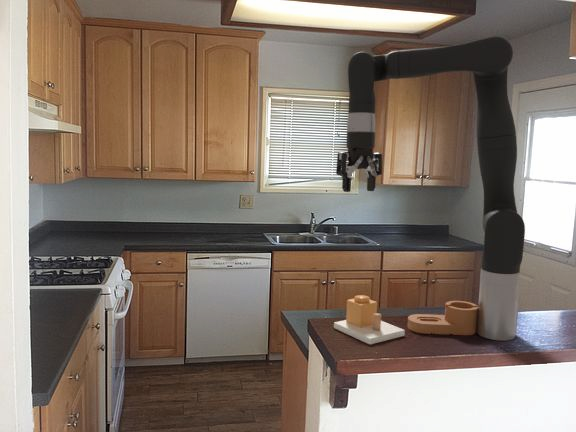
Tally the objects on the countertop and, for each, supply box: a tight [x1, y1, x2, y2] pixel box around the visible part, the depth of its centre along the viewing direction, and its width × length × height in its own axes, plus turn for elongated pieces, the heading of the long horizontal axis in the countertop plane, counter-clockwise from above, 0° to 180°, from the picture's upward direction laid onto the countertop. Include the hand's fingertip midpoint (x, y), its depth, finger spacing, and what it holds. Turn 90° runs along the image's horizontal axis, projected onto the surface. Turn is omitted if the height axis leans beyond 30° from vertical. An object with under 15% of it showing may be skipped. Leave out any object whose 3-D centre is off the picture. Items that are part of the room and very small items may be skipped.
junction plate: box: [333, 312, 406, 345], centre depth 135 cm, size 12×14×6 cm
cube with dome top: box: [345, 294, 378, 328], centre depth 137 cm, size 6×6×7 cm
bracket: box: [407, 300, 478, 336], centre depth 138 cm, size 18×8×7 cm, turn 86°
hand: (358, 191), depth 140 cm, fingers open, 8 cm apart
